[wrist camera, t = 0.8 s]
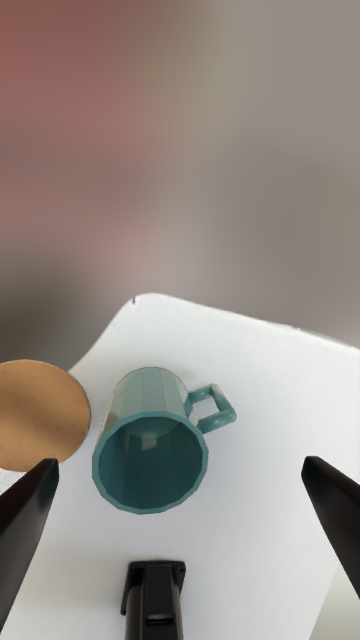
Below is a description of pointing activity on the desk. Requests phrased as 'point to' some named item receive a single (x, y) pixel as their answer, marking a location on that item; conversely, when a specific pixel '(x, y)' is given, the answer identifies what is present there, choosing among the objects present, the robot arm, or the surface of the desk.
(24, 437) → the cork coaster
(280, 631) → the desk surface
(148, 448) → the mug
